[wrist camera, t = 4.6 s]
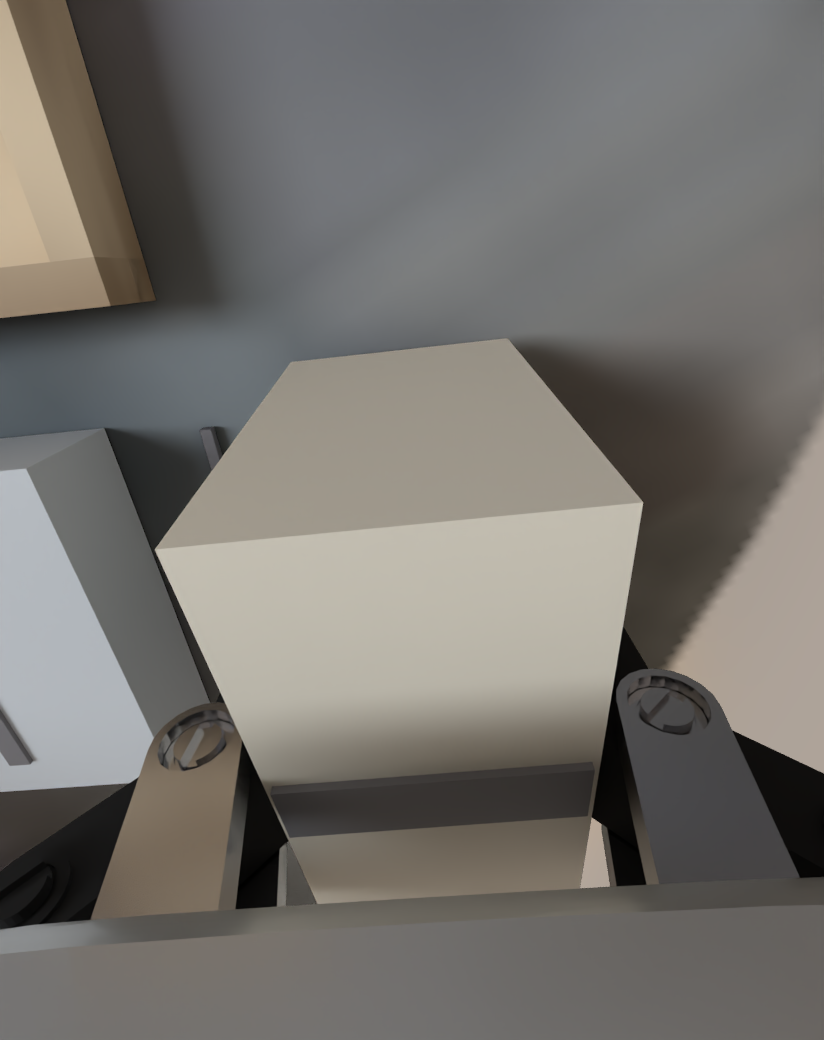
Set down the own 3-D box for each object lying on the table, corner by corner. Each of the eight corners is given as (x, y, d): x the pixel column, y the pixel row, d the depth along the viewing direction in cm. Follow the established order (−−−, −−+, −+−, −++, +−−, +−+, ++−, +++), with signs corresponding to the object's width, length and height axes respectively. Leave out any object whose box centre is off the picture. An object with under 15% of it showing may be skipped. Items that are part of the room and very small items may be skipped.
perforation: (203, 427, 11) (199, 430, 10) (213, 426, 11) (210, 429, 10) (280, 691, 14) (279, 697, 14) (288, 691, 14) (287, 696, 14)
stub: (290, 362, 9) (149, 555, 4) (507, 338, 9) (647, 508, 4) (359, 662, 13) (332, 945, 8) (508, 649, 13) (576, 930, 8)
